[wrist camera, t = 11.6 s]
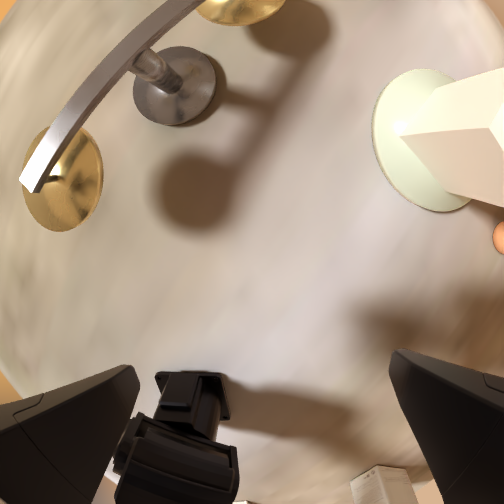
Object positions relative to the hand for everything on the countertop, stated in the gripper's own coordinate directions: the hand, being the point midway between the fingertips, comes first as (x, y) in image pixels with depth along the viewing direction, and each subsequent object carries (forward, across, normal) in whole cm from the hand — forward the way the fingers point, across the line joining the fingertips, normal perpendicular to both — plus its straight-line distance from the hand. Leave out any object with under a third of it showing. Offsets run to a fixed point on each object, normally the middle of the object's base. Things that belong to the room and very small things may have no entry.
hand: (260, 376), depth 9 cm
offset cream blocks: (+12, +14, +8) cm, 20 cm away
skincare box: (+13, +15, -37) cm, 42 cm away
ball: (+13, +22, 0) cm, 26 cm away
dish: (+13, +14, +8) cm, 21 cm away
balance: (+13, -5, +13) cm, 19 cm away
